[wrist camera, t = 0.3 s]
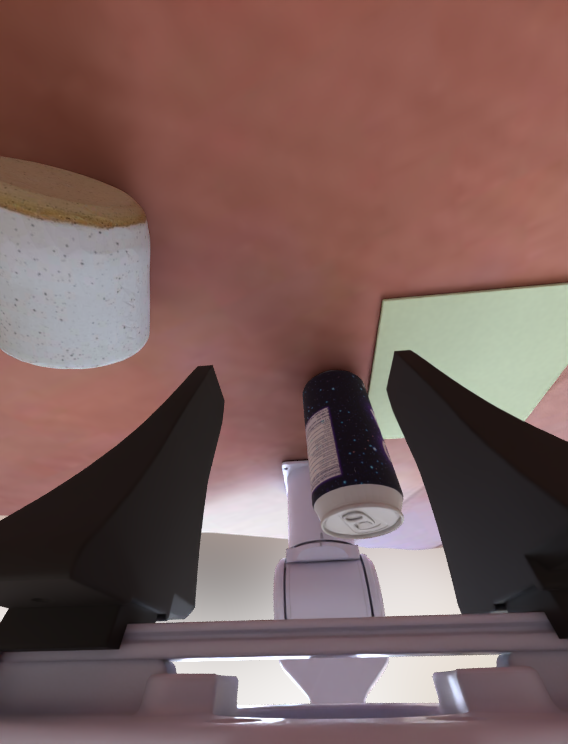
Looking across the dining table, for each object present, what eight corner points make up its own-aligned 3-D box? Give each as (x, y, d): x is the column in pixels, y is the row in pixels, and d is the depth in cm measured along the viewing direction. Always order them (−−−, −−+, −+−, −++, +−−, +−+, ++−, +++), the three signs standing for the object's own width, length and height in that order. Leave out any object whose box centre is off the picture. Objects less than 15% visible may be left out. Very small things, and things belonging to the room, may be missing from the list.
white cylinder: (170, 197, 15) (97, 226, 9) (166, 319, 20) (116, 388, 14) (-50, 119, 13) (-324, 93, 7) (5, 276, 18) (-131, 336, 12)
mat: (515, 428, 29) (517, 430, 29) (360, 438, 30) (361, 440, 30) (629, 276, 18) (633, 278, 18) (382, 299, 19) (383, 300, 19)
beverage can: (321, 414, 28) (342, 547, 18) (290, 382, 25) (295, 521, 15) (372, 391, 25) (424, 527, 16) (344, 352, 22) (388, 493, 13)
